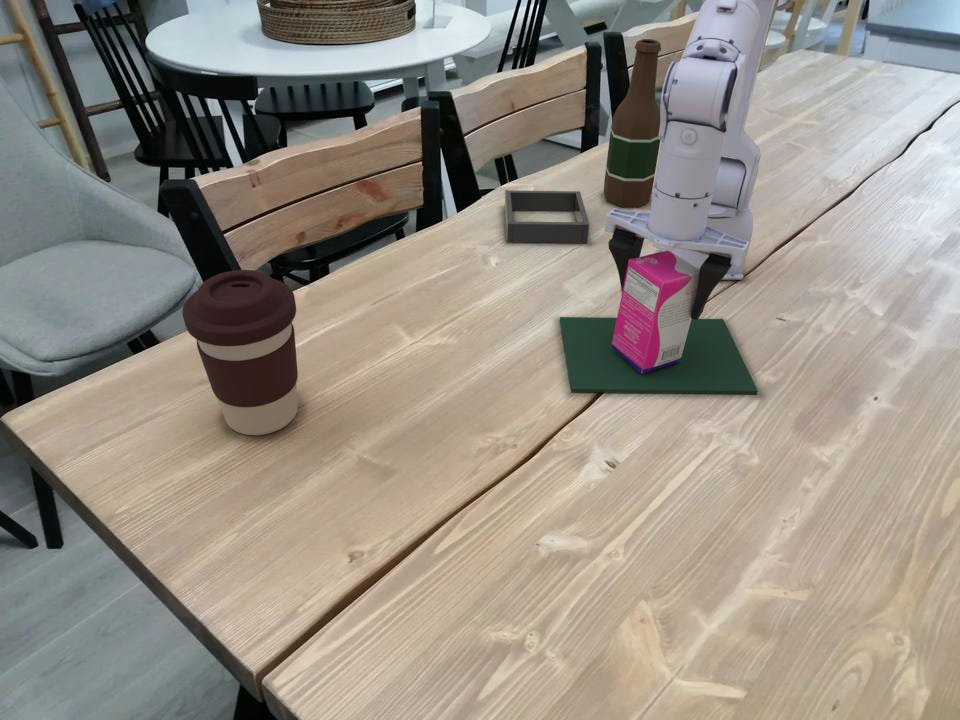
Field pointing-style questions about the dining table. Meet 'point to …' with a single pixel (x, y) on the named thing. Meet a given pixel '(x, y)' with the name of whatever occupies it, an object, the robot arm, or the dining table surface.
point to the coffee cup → (247, 347)
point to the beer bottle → (635, 134)
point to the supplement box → (655, 310)
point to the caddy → (546, 230)
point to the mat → (700, 371)
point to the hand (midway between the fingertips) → (661, 304)
